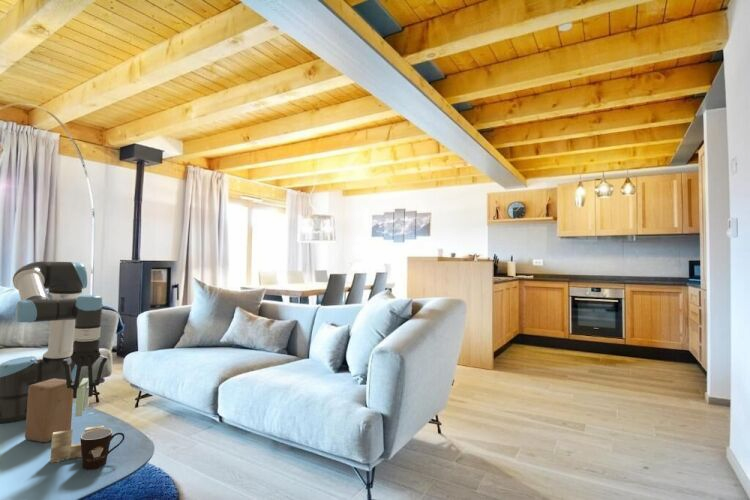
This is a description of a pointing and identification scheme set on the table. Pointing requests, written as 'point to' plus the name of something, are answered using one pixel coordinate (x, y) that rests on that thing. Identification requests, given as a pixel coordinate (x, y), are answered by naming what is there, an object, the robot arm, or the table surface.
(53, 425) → the wooden block
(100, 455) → the coffee mug
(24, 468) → the table surface
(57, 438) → the birch board
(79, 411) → the sage board
